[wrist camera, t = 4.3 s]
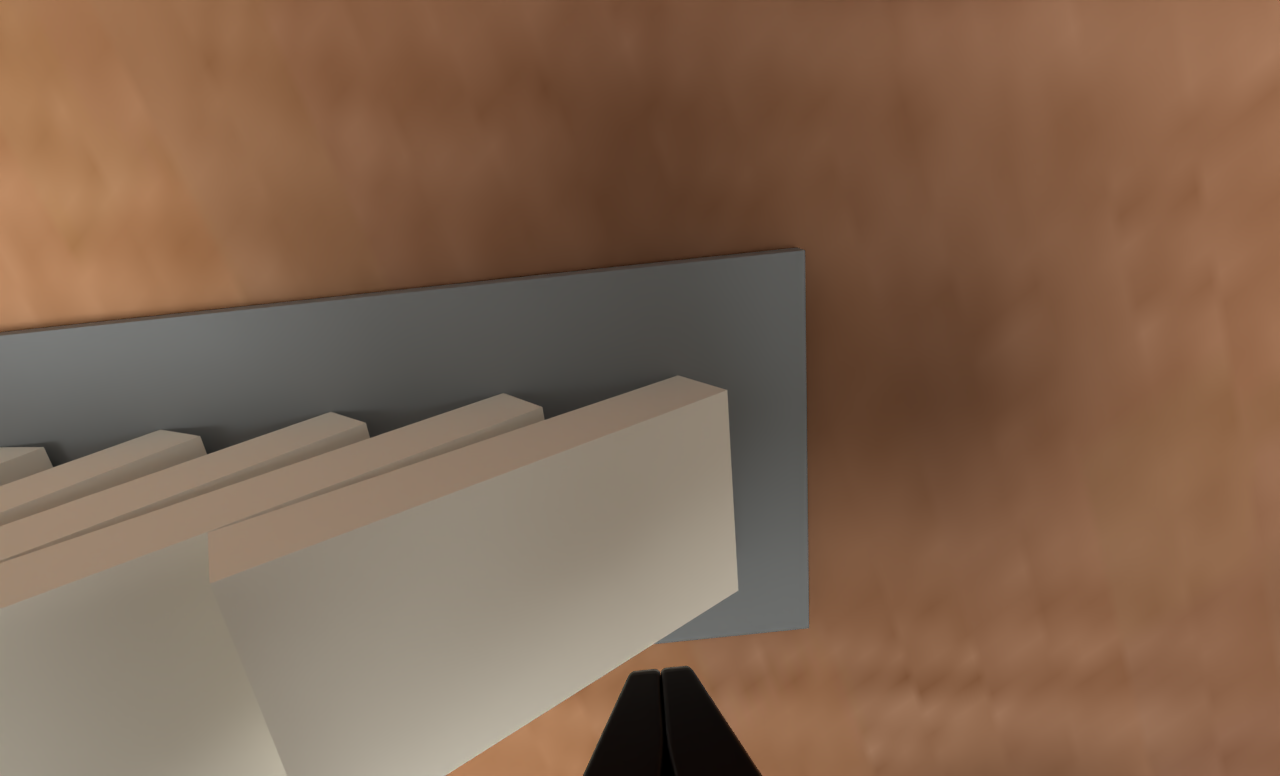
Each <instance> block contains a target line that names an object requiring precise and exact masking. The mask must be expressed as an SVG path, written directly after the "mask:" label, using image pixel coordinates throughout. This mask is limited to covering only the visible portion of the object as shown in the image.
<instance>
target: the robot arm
mask: <svg viewBox="0 0 1280 776" xmlns="http://www.w3.org/2000/svg"><path fill="white" fill-rule="evenodd" d="M583 776H762V775H761V773H760V772H759V770H758V769H757V767H756V766H755V764H754V763H753V761H752V760H751V758H750V757H749V755H748V753H747V752H746V750H745V749H744V747H743V746H742V744H741V743H740V741H739V740H738V738H737V737H736V735H735V734H734V732H733V731H732V729H731V728H730V726H729V725H728V723H727V722H726V720H725V718H724V717H723V715H722V714H721V712H720V711H719V709H718V708H717V706H716V705H715V703H714V702H713V700H712V699H711V697H710V696H709V694H708V693H707V691H706V690H705V688H704V687H703V685H702V683H701V682H700V680H699V679H698V677H697V676H696V674H695V673H694V671H693V670H692V669H691V668H690V667H688V666H681V667H670V668H664V669H663V670H662V671H661V675H660V672H659V671H658V670H657V669H650V670H641V671H633V672H632V673H630V675H629V676H628V678H627V680H626V682H625V685H624V687H623V689H622V691H621V693H620V696H619V698H618V700H617V702H616V704H615V707H614V709H613V711H612V713H611V715H610V717H609V720H608V722H607V724H606V726H605V728H604V731H603V733H602V735H601V737H600V739H599V742H598V744H597V746H596V748H595V750H594V752H593V755H592V757H591V759H590V761H589V763H588V766H587V768H586V770H585V772H584V774H583Z"/></svg>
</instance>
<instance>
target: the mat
mask: <svg viewBox="0 0 1280 776" xmlns="http://www.w3.org/2000/svg"><path fill="white" fill-rule="evenodd" d="M677 375H679V376H682V377H685V378H689V379H692V380H695V381H699V382H702V383H705V384H709V385H712V386H715V387H719V388H722V389H725V390H727V394H728V412H729V430H730V448H731V466H732V484H733V502H734V520H735V538H736V556H737V574H738V591H737V592H735V593H734V594H732V595H730V596H729V597H727V598H726V599H724V600H722V601H721V602H719V603H718V604H716V605H715V606H713V607H711V608H710V609H708V610H707V611H705V612H703V613H702V614H700V615H699V616H697V617H696V618H694V619H692V620H691V621H689V622H688V623H686V624H684V625H683V626H681V627H680V628H678V629H677V630H675V631H673V632H672V633H670V634H669V635H667V636H665V637H664V638H662V639H661V640H659V641H658V642H656V643H654V644H659V643H669V642H678V641H688V640H698V639H708V638H718V637H727V636H737V635H747V634H757V633H766V632H776V631H786V630H796V629H806V628H809V579H808V484H807V388H806V292H805V250H803V249H800V248H787V249H778V250H769V251H759V252H750V253H740V254H731V255H722V256H712V257H703V258H694V259H684V260H675V261H665V262H656V263H647V264H637V265H628V266H618V267H609V268H600V269H590V270H581V271H571V272H562V273H553V274H543V275H534V276H524V277H515V278H506V279H496V280H487V281H477V282H468V283H459V284H449V285H440V286H430V287H421V288H412V289H402V290H393V291H384V292H374V293H365V294H355V295H346V296H337V297H327V298H318V299H308V300H299V301H290V302H280V303H271V304H261V305H252V306H243V307H233V308H224V309H214V310H205V311H196V312H186V313H177V314H167V315H158V316H149V317H139V318H130V319H120V320H111V321H102V322H92V323H83V324H74V325H64V326H55V327H45V328H36V329H27V330H17V331H8V332H0V447H44V449H45V451H46V453H47V455H48V457H49V459H50V461H51V464H52V466H53V467H56V466H59V465H62V464H65V463H67V462H70V461H73V460H76V459H79V458H81V457H84V456H87V455H90V454H93V453H96V452H98V451H101V450H104V449H107V448H110V447H112V446H115V445H118V444H121V443H124V442H126V441H129V440H132V439H135V438H138V437H141V436H143V435H146V434H149V433H152V432H155V431H157V430H166V431H173V432H179V433H185V434H191V435H197V436H200V437H201V439H202V442H203V445H204V447H205V450H206V453H207V454H210V453H213V452H216V451H219V450H222V449H224V448H227V447H230V446H233V445H236V444H239V443H242V442H245V441H248V440H250V439H253V438H256V437H259V436H262V435H265V434H268V433H271V432H274V431H276V430H279V429H282V428H285V427H288V426H291V425H294V424H297V423H299V422H302V421H305V420H308V419H311V418H314V417H317V416H320V415H323V414H325V413H328V412H333V413H336V414H340V415H343V416H346V417H349V418H352V419H355V420H359V421H362V422H365V423H366V425H367V429H368V432H369V436H370V438H372V437H375V436H378V435H381V434H383V433H386V432H389V431H392V430H395V429H398V428H401V427H404V426H407V425H410V424H413V423H416V422H419V421H422V420H425V419H428V418H431V417H434V416H437V415H440V414H443V413H446V412H449V411H452V410H454V409H457V408H460V407H463V406H466V405H469V404H472V403H475V402H478V401H481V400H484V399H487V398H490V397H493V396H496V395H499V394H502V393H505V394H508V395H510V396H513V397H516V398H519V399H522V400H524V401H527V402H530V403H533V404H536V405H538V406H541V407H543V413H544V419H545V420H546V419H549V418H552V417H555V416H558V415H561V414H564V413H567V412H570V411H573V410H576V409H579V408H582V407H585V406H588V405H591V404H594V403H597V402H600V401H603V400H606V399H609V398H612V397H615V396H618V395H621V394H624V393H627V392H630V391H633V390H636V389H639V388H642V387H645V386H648V385H651V384H654V383H657V382H660V381H662V380H665V379H668V378H671V377H674V376H677Z"/></svg>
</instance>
